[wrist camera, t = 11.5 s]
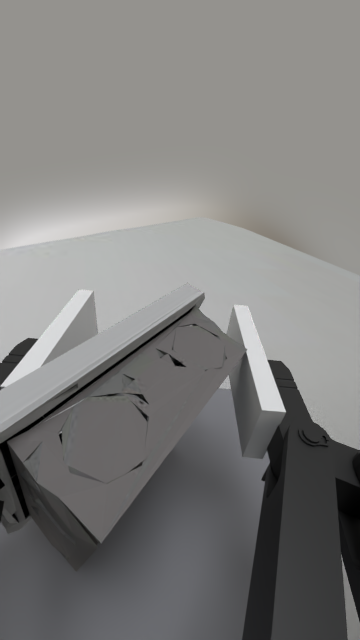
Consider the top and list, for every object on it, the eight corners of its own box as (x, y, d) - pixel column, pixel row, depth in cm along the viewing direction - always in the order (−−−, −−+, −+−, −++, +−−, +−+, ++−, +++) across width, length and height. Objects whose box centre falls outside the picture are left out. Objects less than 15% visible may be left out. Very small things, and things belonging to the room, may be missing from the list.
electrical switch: (146, 389, 18) (163, 264, 12) (211, 436, 16) (266, 312, 10) (1, 524, 11) (-107, 381, 5) (82, 635, 9) (42, 588, 3)
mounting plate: (259, 404, 22) (265, 389, 21) (361, 787, 9) (390, 797, 8) (61, 386, 22) (58, 371, 21) (-141, 754, 9) (-177, 760, 8)
